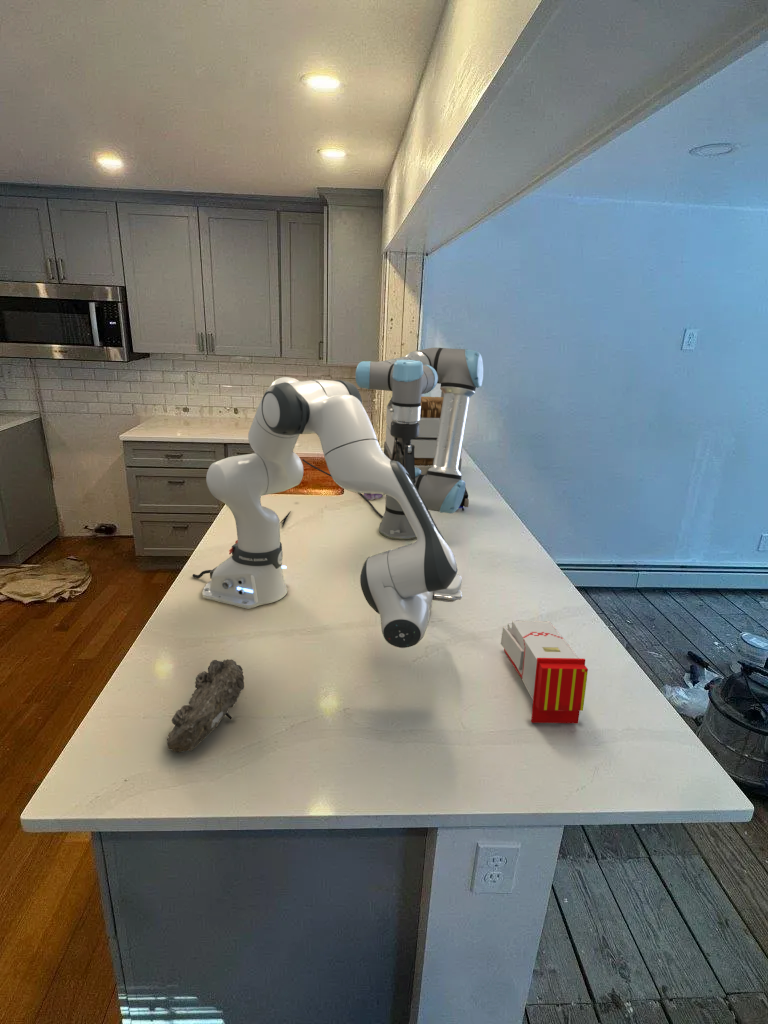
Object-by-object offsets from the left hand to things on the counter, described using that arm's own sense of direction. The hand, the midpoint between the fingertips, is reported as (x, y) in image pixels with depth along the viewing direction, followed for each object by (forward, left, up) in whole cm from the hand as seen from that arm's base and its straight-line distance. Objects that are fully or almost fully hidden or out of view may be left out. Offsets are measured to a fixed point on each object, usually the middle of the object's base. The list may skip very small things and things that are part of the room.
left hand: (419, 567), depth 132 cm
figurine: (-29, +102, -18) cm, 108 cm away
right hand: (-8, +26, +8) cm, 29 cm away
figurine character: (+6, +100, -18) cm, 101 cm away
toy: (+28, -12, -18) cm, 35 cm away
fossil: (-34, -38, -18) cm, 54 cm away
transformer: (-14, +145, -18) cm, 147 cm away
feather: (-56, +72, -18) cm, 93 cm away
